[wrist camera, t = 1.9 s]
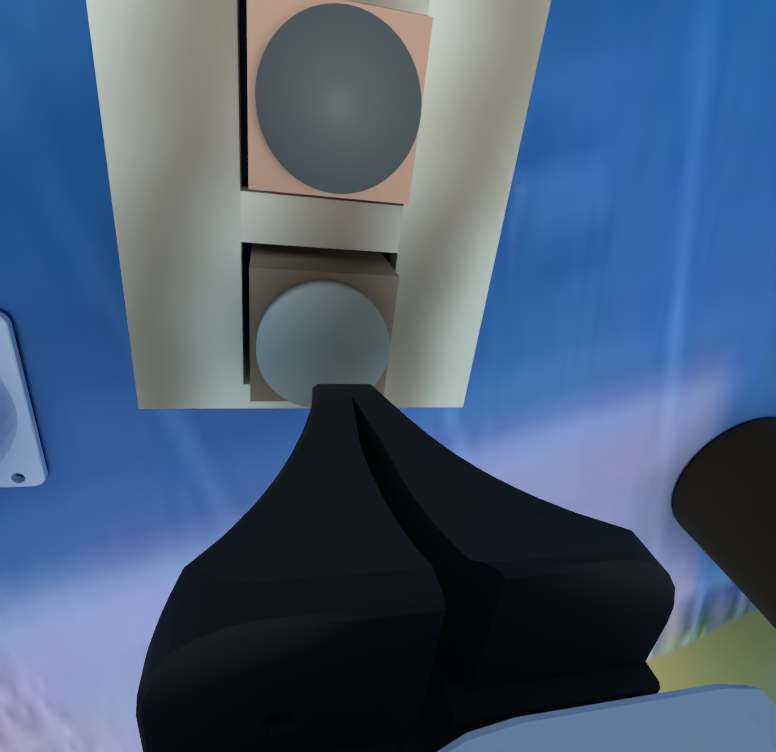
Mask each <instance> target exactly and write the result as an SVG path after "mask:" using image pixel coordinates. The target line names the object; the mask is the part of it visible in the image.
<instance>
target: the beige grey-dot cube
mask: <svg viewBox="0 0 776 752" xmlns="http://www.w3.org/2000/svg"><path fill="white" fill-rule="evenodd" d="M432 24H433V17H430V16H425V15H420V14H415V13H409V12H404V11H399V10H393V9H388V8H383V7H378V6H372V5H367V4H362V3H357V2H351V1H346V0H247V96H248V189H252V190H262V191H273V192H283V193H294V194H304V195H315V196H325V197H336V198H347V199H357V200H368V201H378V202H389V203H399V204H409V199H410V191H411V184H412V176H413V168H414V161H415V153H416V146H417V138H418V130H419V124H420V119H421V108H422V100H423V92H424V85H425V77H426V69H427V62H428V54H429V47H430V39H431V31H432Z"/></svg>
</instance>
